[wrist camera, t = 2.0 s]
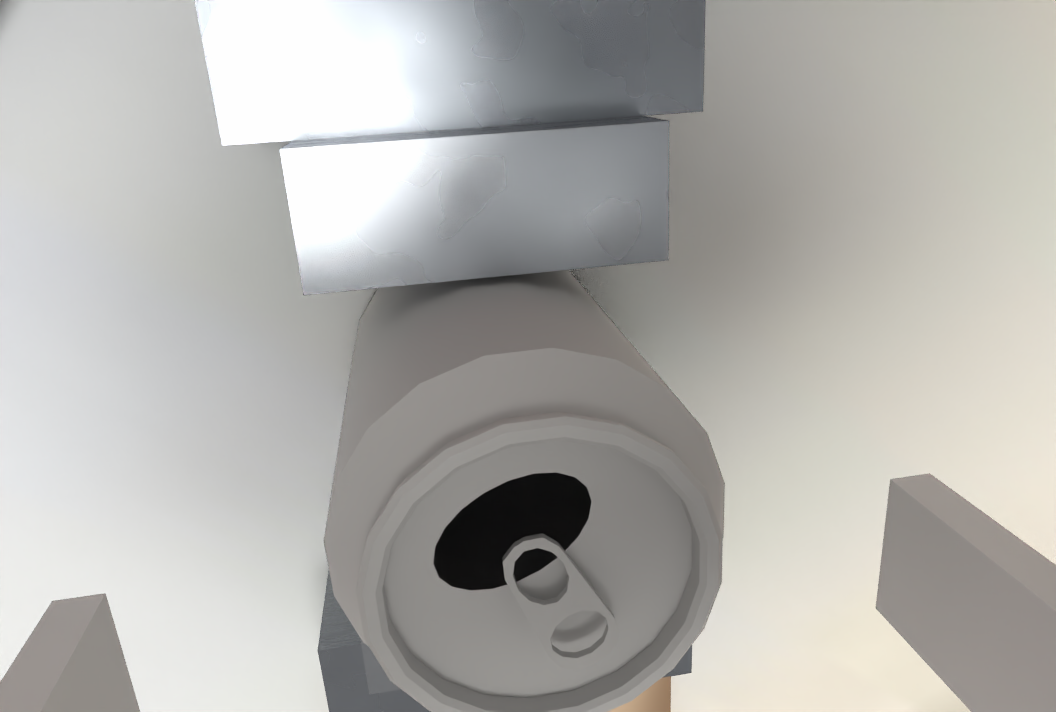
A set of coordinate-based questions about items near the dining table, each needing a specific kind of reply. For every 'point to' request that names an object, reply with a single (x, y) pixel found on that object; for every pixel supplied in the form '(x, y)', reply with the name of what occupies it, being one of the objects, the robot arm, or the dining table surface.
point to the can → (518, 500)
